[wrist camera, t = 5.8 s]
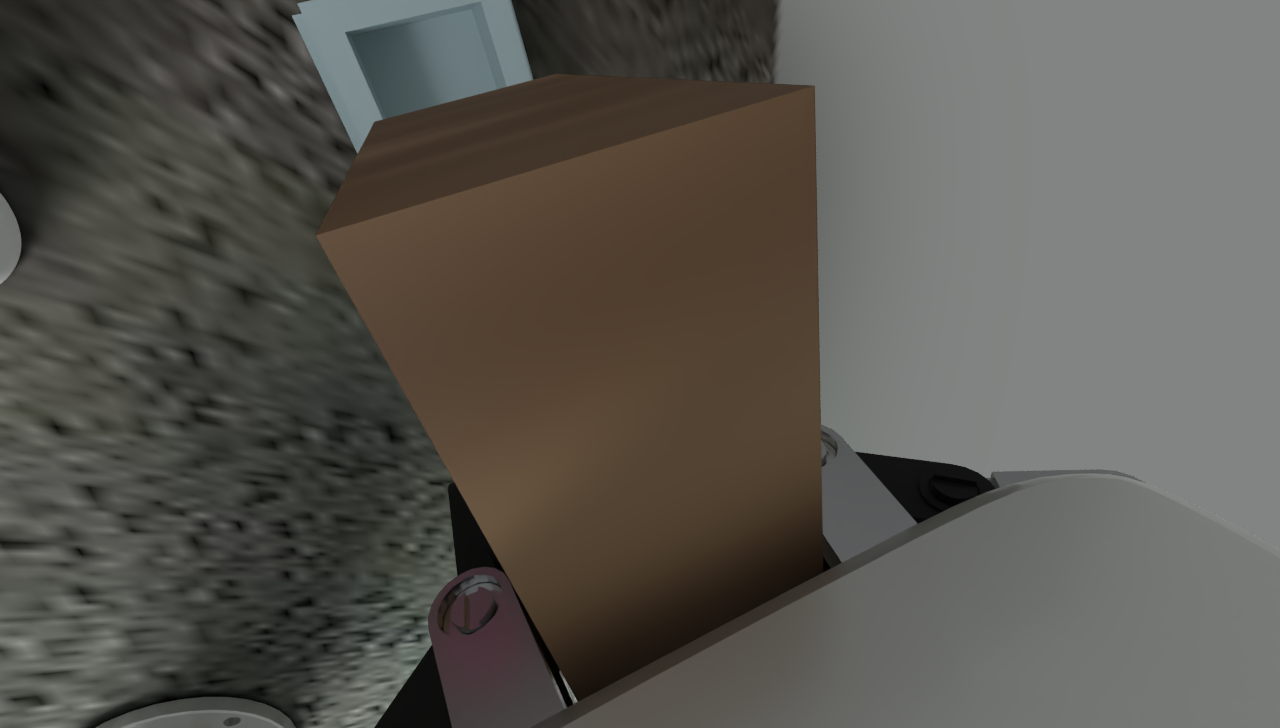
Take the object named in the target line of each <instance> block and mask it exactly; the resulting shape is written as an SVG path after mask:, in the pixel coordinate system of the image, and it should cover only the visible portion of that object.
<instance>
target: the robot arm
mask: <svg viewBox="0 0 1280 728" xmlns="http://www.w3.org/2000/svg"><path fill="white" fill-rule="evenodd" d="M821 464H822V519H823V573H821V574H820V575H818V576H816V577H814V578H812V579H810V580H808V581H806V582H804V583H802V584H800V585H798V586H796V587H794V588H793V589H791V590H789V591H787V592H785V593H783V594H781V595H779V596H777V597H775V598H774V599H772V600H770V601H768V602H766V603H764V604H762V605H760V606H758V607H756V608H754V609H753V610H751V611H749V612H747V613H745V614H743V615H741V616H739V617H737V618H735V619H734V620H732V621H730V622H728V623H726V624H724V625H722V626H720V627H718V628H716V629H715V630H713V631H711V632H709V633H707V634H705V635H703V636H701V637H699V638H697V639H696V640H694V641H692V642H690V643H688V644H686V645H684V646H682V647H680V648H679V649H677V650H675V651H673V652H671V653H669V654H667V655H665V656H663V657H661V658H660V659H658V660H656V661H654V662H652V663H650V664H648V665H646V666H644V667H643V668H641V669H639V670H637V671H635V672H633V673H631V674H629V675H628V676H626V677H624V678H622V679H620V680H618V681H616V682H614V683H613V684H611V685H609V686H607V687H605V688H603V689H601V690H599V691H598V692H596V693H594V694H592V695H590V696H588V697H586V698H584V699H583V700H581V701H579V702H577V703H575V702H574V700H573V698H572V695H571V693H570V691H569V689H568V686H567V684H566V682H565V680H564V678H563V675H562V673H561V671H560V669H559V667H558V665H557V663H556V661H555V660H554V658H553V656H552V654H551V653H550V651H549V649H548V647H547V646H546V644H545V642H544V640H543V638H542V637H541V635H540V633H539V631H538V630H537V628H536V626H535V624H534V622H533V621H532V619H531V617H530V615H529V614H528V612H527V610H526V608H525V606H524V605H523V603H522V601H521V599H520V598H519V596H518V594H517V592H516V591H515V589H514V587H513V585H512V583H511V582H510V580H509V578H508V576H507V575H506V573H505V571H504V569H503V567H502V566H501V564H500V562H499V560H498V559H497V557H496V555H495V553H494V551H493V550H492V548H491V546H490V544H489V543H488V541H487V539H486V537H485V536H484V534H483V532H482V530H481V528H480V527H479V525H478V523H477V521H476V520H475V518H474V516H473V514H472V512H471V511H470V509H469V507H468V505H467V504H466V502H465V500H464V498H463V496H462V495H461V493H460V491H459V489H458V488H457V486H456V484H455V482H454V483H452V484H449V487H448V493H449V502H450V511H451V520H452V529H453V539H454V548H455V557H456V566H457V575H458V576H457V577H456V578H454V579H453V580H452V581H450V582H449V583H448V584H447V585H446V586H445V587H444V588H443V589H442V590H441V591H440V592H439V594H438V595H437V597H436V599H435V600H434V602H433V604H432V606H431V609H430V613H429V616H428V628H429V633H430V637H431V641H432V646H431V647H430V649H429V650H428V651H427V653H426V654H425V656H424V657H423V659H422V660H421V661H420V663H419V664H418V666H417V667H416V669H415V670H414V672H413V673H412V674H411V676H410V677H409V679H408V680H407V682H406V683H405V684H404V686H403V687H402V689H401V690H400V692H399V693H398V694H397V696H396V697H395V699H394V700H393V702H392V703H391V705H390V706H389V707H388V709H387V710H386V712H385V713H384V715H383V716H382V717H381V719H380V720H379V722H378V723H377V725H376V726H375V727H374V728H1280V548H1278V547H1276V546H1274V545H1272V544H1270V543H1269V542H1267V541H1265V540H1263V539H1261V538H1259V537H1258V536H1255V535H1254V534H1252V533H1250V532H1248V531H1246V530H1244V529H1242V528H1240V527H1238V526H1237V525H1235V524H1233V523H1231V522H1229V521H1227V520H1225V519H1223V518H1221V517H1219V516H1217V515H1215V514H1213V513H1211V512H1209V511H1207V510H1205V509H1203V508H1201V507H1199V506H1197V505H1195V504H1193V503H1191V502H1188V501H1186V500H1184V499H1182V498H1180V497H1178V496H1176V495H1173V494H1171V493H1169V492H1167V491H1164V490H1162V489H1159V488H1157V487H1154V486H1151V485H1149V484H1147V483H1145V482H1143V481H1141V480H1139V479H1137V478H1135V477H1134V476H1131V475H1127V474H1124V473H1121V472H1117V471H1111V470H1100V469H1099V470H1052V471H1005V472H992V474H991V478H985V477H983V476H982V475H981V474H979V473H977V472H975V471H973V470H970V469H968V468H966V467H961V466H957V465H953V464H945V463H938V462H930V461H923V460H914V459H907V458H899V457H891V456H884V455H876V454H868V453H860V452H854V451H853V449H852V448H851V447H850V446H849V445H848V444H847V443H846V441H845V440H844V439H843V438H842V437H841V436H840V435H839V434H838V433H836V432H835V431H834V430H832V429H830V428H828V427H826V426H823V425H821ZM95 728H296V727H295V726H294V724H293V723H292V721H291V720H290V719H289V718H288V717H287V716H286V715H284V714H283V713H282V712H281V711H279V710H277V709H275V708H273V707H271V706H268V705H266V704H263V703H260V702H256V701H252V700H248V699H241V698H233V697H198V698H188V699H179V700H174V701H169V702H164V703H159V704H154V705H151V706H147V707H144V708H141V709H137V710H134V711H131V712H128V713H126V714H123V715H121V716H119V717H116V718H114V719H111V720H109V721H107V722H104V723H103V724H101V725H99V726H97V727H95Z"/></svg>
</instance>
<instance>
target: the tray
mask: <svg viewBox="0 0 1280 728" xmlns="http://www.w3.org/2000/svg"><path fill="white" fill-rule="evenodd" d="M297 4H298V6H299V8H300V10H301V14H297V15H292V17H293V19H294V21H295V23H296V26H297V28H298V30H299V32H300V34H301V36H302V38H303V40H304V42H305V44H306V47H307V49H308V51H309V53H310V55H311V57H312V59H313V61H314V63H315V65H316V68H317V70H318V72H319V74H320V76H321V78H322V80H323V82H324V84H325V87H326V89H327V91H328V93H329V95H330V97H331V99H332V101H333V103H334V105H335V108H336V110H337V112H338V114H339V116H340V118H341V120H342V122H343V124H344V126H345V129H346V131H347V133H348V135H349V137H350V139H351V141H352V143H353V145H354V148H355V150H356V152H357V154H358V152H359V150H360V148H361V146H362V145H363V143H364V141H365V139H366V137H367V135H368V133H369V131H370V129H371V127H372V125H373V123H374V122H375V121H379V120H383V119H386V118H390V117H394V116H398V115H402V114H405V113H409V112H413V111H417V110H421V109H424V108H428V107H432V106H436V105H440V104H443V103H447V102H451V101H455V100H459V99H462V98H466V97H470V96H474V95H478V94H481V93H485V92H489V91H493V90H496V89H500V88H504V87H508V86H512V85H515V84H519V83H523V82H527V81H531V80H533V76H532V72H531V69H530V65H529V62H528V58H527V55H526V51H525V47H524V44H523V40H522V37H521V33H520V30H519V26H518V22H517V19H516V15H515V12H514V8H513V5H512V1H511V0H311V1H306V2H302V3H297Z"/></svg>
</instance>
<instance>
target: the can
mask: <svg viewBox="0 0 1280 728" xmlns="http://www.w3.org/2000/svg"><path fill="white" fill-rule="evenodd" d="M20 253H21V234H20V229H19V226H18V223H17V220H16V218H15V215H14V213H13V211H12V210H11V208H10V206H9V204H8V203H7V201H6V200H5V198H4V197H3V196H2V194H1V193H0V284H1V283H2V282H3V281H5V280H6V279H7V278H8V277H9V275H10V274H11V273H12V272H13V270H14V269H15V267H16V265H17V263H18V260H19V257H20Z"/></svg>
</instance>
